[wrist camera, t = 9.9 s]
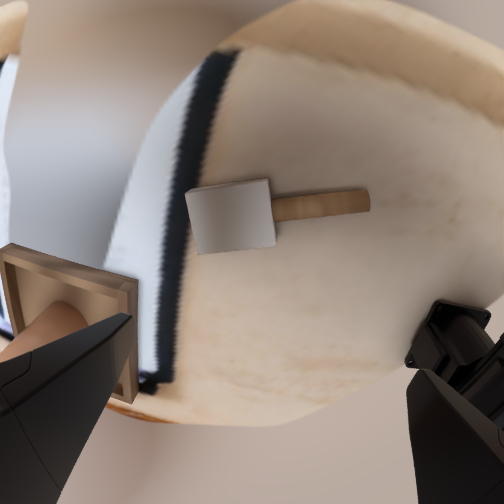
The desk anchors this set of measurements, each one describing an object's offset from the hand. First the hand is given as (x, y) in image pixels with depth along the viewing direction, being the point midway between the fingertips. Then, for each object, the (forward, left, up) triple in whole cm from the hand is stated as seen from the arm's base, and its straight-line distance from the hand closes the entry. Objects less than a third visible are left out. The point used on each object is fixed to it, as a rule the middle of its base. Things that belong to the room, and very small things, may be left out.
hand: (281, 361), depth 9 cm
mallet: (+1, -1, -13) cm, 13 cm away
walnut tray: (+17, +13, -13) cm, 25 cm away
